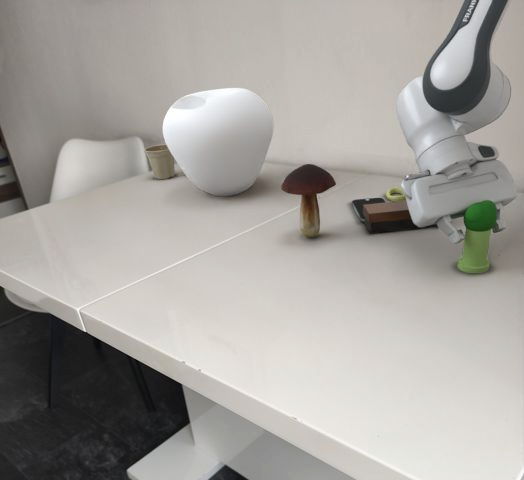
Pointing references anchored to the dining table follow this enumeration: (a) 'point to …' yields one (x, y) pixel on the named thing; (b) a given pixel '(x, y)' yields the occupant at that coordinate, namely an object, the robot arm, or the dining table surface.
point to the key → (395, 198)
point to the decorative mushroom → (308, 194)
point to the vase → (219, 138)
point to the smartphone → (360, 202)
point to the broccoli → (477, 236)
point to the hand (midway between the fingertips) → (479, 236)
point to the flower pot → (161, 161)
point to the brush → (389, 217)
